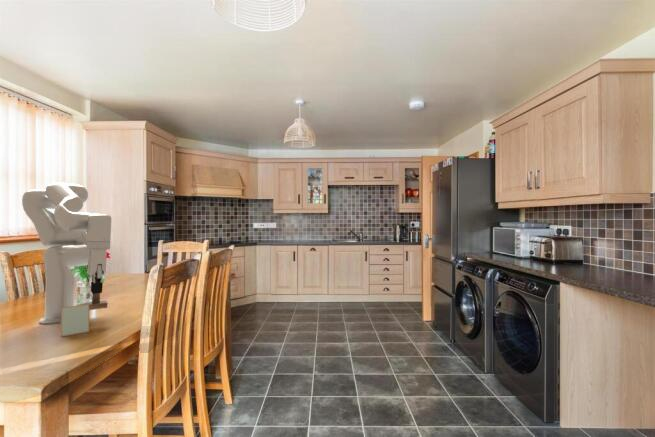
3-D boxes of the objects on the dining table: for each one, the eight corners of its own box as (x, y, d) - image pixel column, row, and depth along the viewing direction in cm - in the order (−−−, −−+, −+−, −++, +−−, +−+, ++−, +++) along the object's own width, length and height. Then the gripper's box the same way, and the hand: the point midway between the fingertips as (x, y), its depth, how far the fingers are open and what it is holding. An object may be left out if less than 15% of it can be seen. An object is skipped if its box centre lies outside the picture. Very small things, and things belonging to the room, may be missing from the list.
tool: (83, 308, 122) (85, 272, 122) (105, 305, 127) (107, 270, 127) (85, 310, 119) (86, 273, 119) (107, 307, 124) (109, 272, 124)
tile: (60, 336, 111) (61, 307, 112) (88, 331, 116) (88, 304, 118) (60, 336, 110) (61, 307, 111) (89, 331, 115) (89, 303, 117)
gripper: (84, 244, 126) (82, 289, 126) (89, 247, 114) (86, 298, 114) (106, 243, 131) (104, 287, 131) (113, 247, 119) (111, 295, 119)
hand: (96, 292), depth 123 cm, fingers closed on tool, 2 cm apart
